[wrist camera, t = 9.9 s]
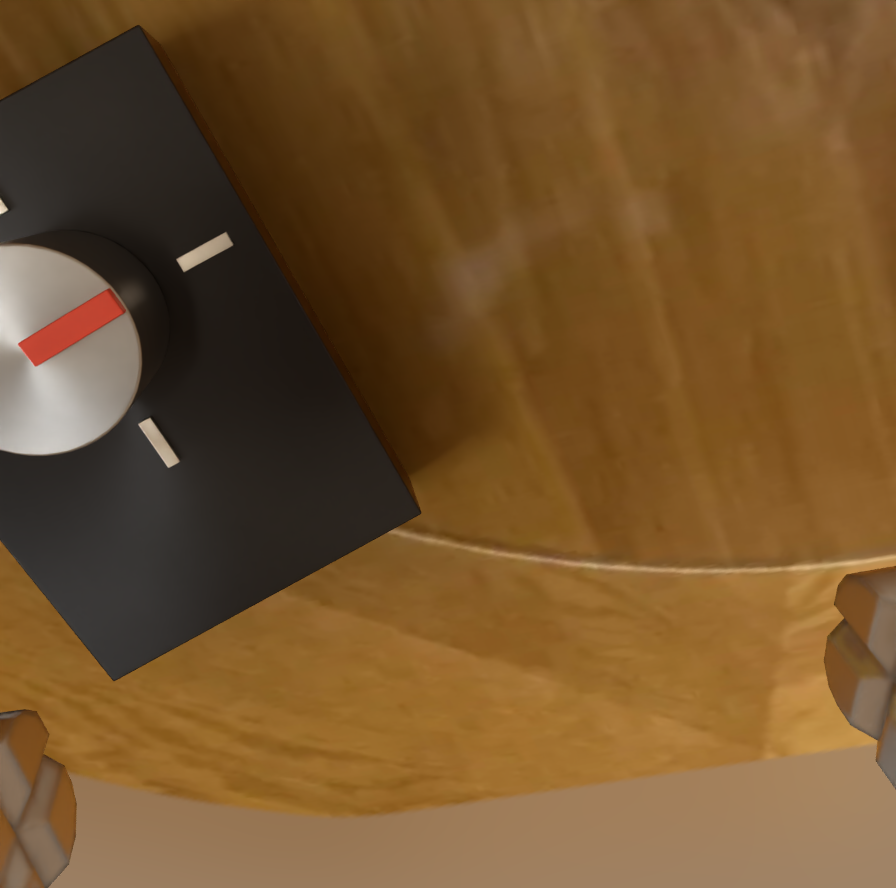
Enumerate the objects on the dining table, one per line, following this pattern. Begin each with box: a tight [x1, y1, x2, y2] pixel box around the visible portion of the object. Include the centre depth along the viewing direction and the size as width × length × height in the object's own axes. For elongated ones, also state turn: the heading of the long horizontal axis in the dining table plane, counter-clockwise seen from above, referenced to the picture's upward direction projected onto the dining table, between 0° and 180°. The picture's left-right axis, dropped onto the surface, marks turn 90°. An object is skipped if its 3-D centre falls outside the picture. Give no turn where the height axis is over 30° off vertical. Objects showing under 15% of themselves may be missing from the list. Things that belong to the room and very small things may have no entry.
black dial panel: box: [0, 25, 421, 681], centre depth 23 cm, size 14×10×3 cm
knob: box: [0, 230, 170, 456], centre depth 19 cm, size 4×4×4 cm
